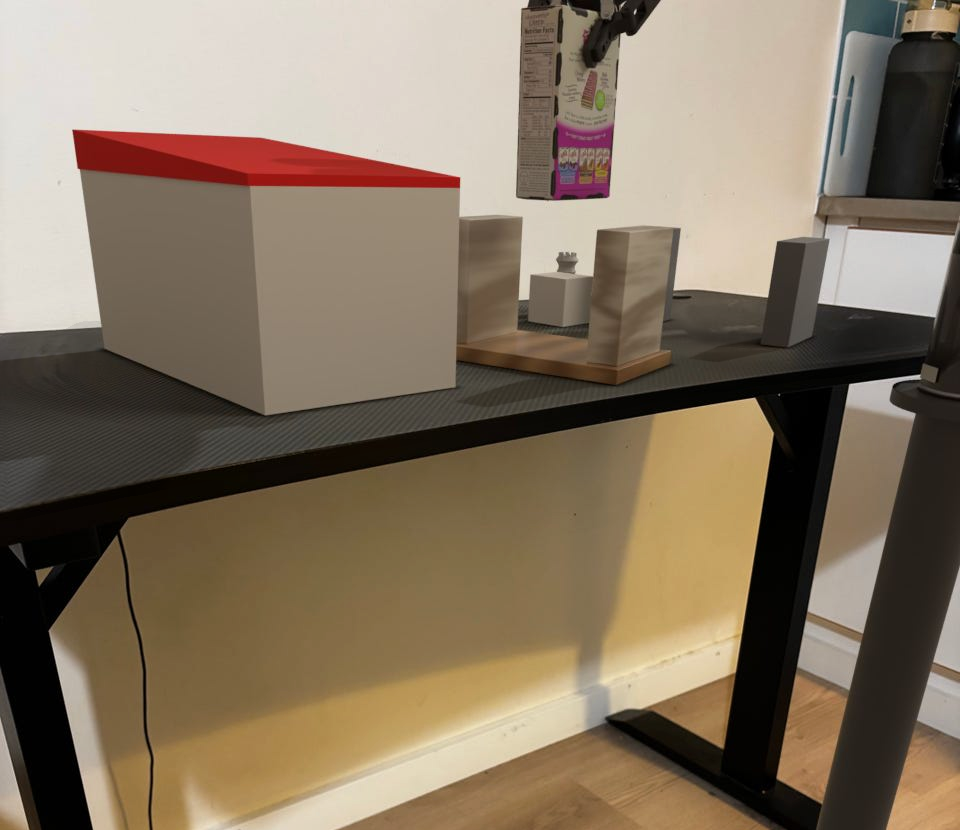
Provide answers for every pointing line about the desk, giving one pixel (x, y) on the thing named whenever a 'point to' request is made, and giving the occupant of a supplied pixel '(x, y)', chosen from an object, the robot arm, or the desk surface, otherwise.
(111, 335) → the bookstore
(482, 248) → the shelf
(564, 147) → the candy bar box
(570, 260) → the rook chess piece
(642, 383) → the desk surface
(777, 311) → the grey books
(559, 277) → the cream cube
